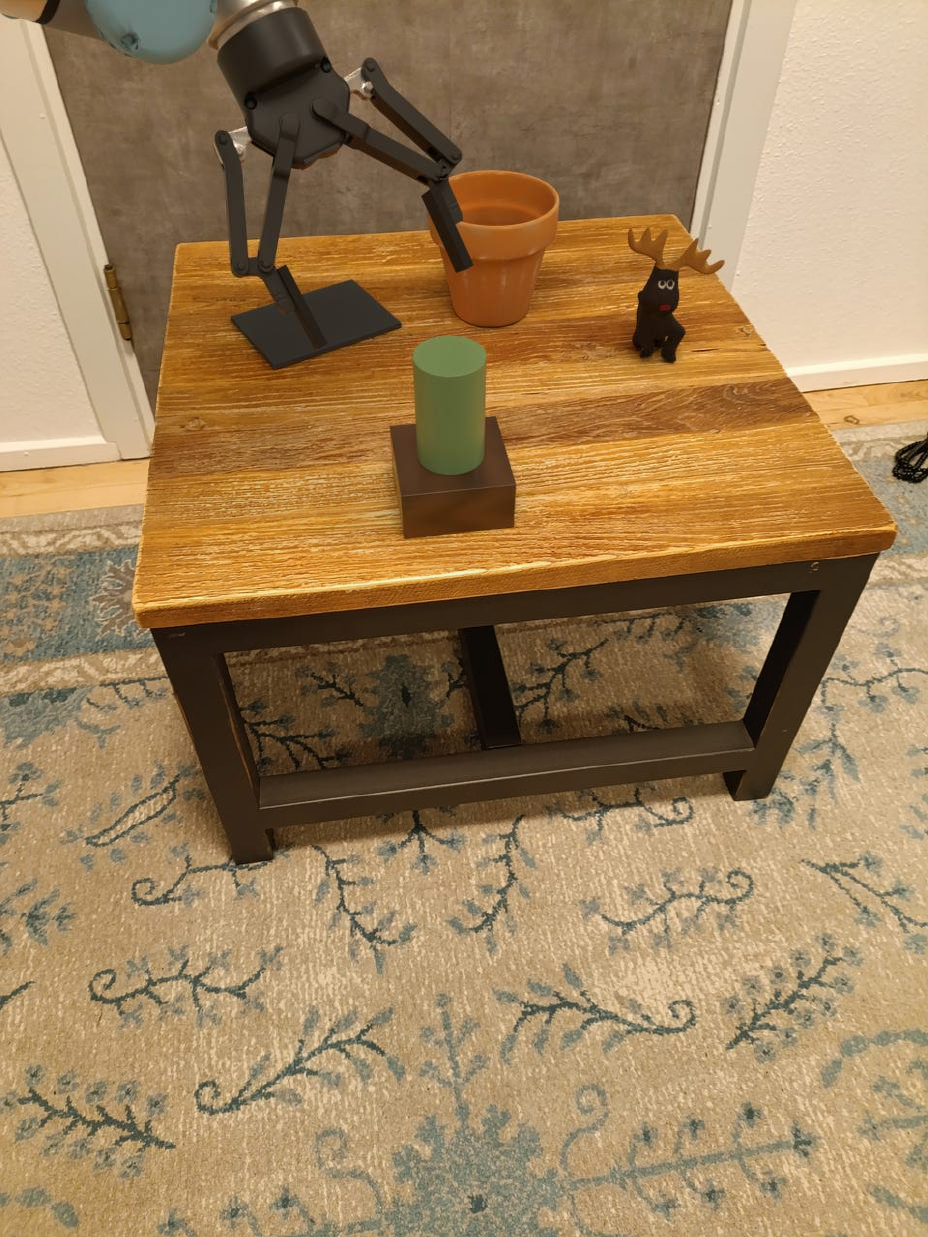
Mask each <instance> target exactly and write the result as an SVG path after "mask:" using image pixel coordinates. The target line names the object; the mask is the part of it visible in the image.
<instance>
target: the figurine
mask: <svg viewBox="0 0 928 1237" xmlns="http://www.w3.org/2000/svg"><path fill="white" fill-rule="evenodd" d="M668 232H669V231H668V229H665V230H663V231H662V232H661V233H660V234H659V235H657V237H656V238H655V239H654V240H652V234H651V233H652V232H651V228H650V227H646V228H645V229H644V231H643V232H642V235H641V237H640V239H639V241H637V242H636V240H635V235H634V231H633V227H629V229H628V232H627V245H628V247H629V248H630V250H631V251H633V252H634V253H637V254H639V255H642V256H646V257H648V258H650V259H652V260H653V261H654V262H655V263H654V265H653V267H652V270H651V273H650V275H649V277H648V279H647V281H646V283H645V284H644V285H643V288H642V290H640V291H638V293H637V300H638V301H637V309H636V314H635V318H636V326H635V330H634V332H633V334H632V338H631V343H632V346H633V347H634V348H635V349H638V350H641V349H642V350H641V352H640V354H639V358H641V359H649V358H651V357H652V356H653V355H654V354H655V351H656V349H661V350H660V356H661V358H662V359H663V360H665V361H667V362H670V363H675V362H676V361H677V356H676V355H677V349H678V348H679V346H680V343H681V342H682V340H683V339H684V338H685V336H686V333H687V332H686V329H685V327H684V326H683V325H682V324H681V323H680V322H679V321H678V320H677V319H676V317H675V316H674V314H673V313H674V312H675V311H676V310H677V309H678V306H679V302H680V289H679V276H680V269H681V268H682V267H689V268H690V269H692V270H694V271H696V272H697V273H700V274H702V275H706V276H707V275H713V274H715V273H717V272H719V270H721V269H722V268H723V267H724V265H725V263H726V262H725V261H726V260H725V259H720V260H718V261H715V263H713V264H710V265H706V264H705V263H706V262H707V260H708V259H709V257H710V256H711V254H712V249H710V248H709V249H708V248H707V249H704V250H702V251H699V252H697V249H698V248H697V247H698V244H699V241H700V240H699V239H700V238H699V237H696V238H694V240H693V241H692V242H691V244H690V245H689V246H688V247H687V249H686V250H685V251H684V252H683V253H682V254H681V255H680V256H679V258H677V259H676V260H674V261H673V262H671V263H666V264H665V262H664V258H663V253H664V250H665V246H666V242H667V239H668V236H669V235H668V234H669V233H668ZM696 252H697V253H696Z"/></svg>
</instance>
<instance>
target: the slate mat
mask: <svg viewBox="0 0 928 1237" xmlns="http://www.w3.org/2000/svg"><path fill="white" fill-rule="evenodd" d="M301 294H302V296H303V297H304V299H305V301H306V303H307V305H308V307H309V309H310V311H311V313H312V315H313V316H314V318H315V320H316V322H317V324H318V326H319V328H320V330H321V332H322V334H323V335H324V337H325V339H326V341H327V343H328V344H327V345H325V346H323V347H321V348H319V349H314V347H313V345H312V344H311V342H310V340H309V338H308V336H307V334H306V332H305V330H304V329H303V327H302V325H301V323H300V321H299V319H298V317H297V315H296V314H295V312H294V310H293V311H291V312H289V313H287V314H285V315H283V314H282V313H281V312H280V311H279V310H278V308H277V306H276V304H275V302H273V303H270V304H266V305H262V306H259V307H255V308H253V309H250V310H246V311H242V312H239V313H236V314H233V315H229V316H230V317H229V319H230V321H231V323H232V324H233V325H234V326H235V327H236V328H237V330H238V331H239V332H240V333H241V334H242V335H243V336H244V338H246V340H248V342H249V343H250V344H251V345H252V346H253V348H255V349H256V351H257V352H258V353H259V354H260V355H261V357H262V358H264V360H265V361H266V362H267V363H268V364H269V365H270V367H272V369H273V370H275V371H276V370H278V369H281V368H285V367H288V366H290V365H293V364H297V363H299V362H303V361H305V360H308V359H311V358H315V357H318V356H320V355H323V354H327V353H329V352H332V351H335V350H338V349H341V348H344V347H347V346H350V345H354V344H356V343H359V342H362V341H365V340H367V339H371V338H374V337H377V336H380V335H382V334H383V335H384V334H386V333H389V332H391V331H395V330H399V329H400V328H402V322H401V320H399V319H398V318H397V317H396V316H394V315H393V313H391V312H390V311H389V310H388V309H387V308H385V307H384V306H383V305H382V304H381V303H380V302H379V301H378V300H376V298H374V297H373V296H372V295H371V294H370V293H368V292H367V290H365V289H364V288H363V287H362V286H361V285H360V284H359V283H357V282H356V281H355V280H354V279H353V278H350V279H348V280H344V281H341V282H338V283H335V284H330V285H328V286H325V287H322V288H321V287H320V288H318V289H315V290H312V291H308V292H305V293H301Z"/></svg>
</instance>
